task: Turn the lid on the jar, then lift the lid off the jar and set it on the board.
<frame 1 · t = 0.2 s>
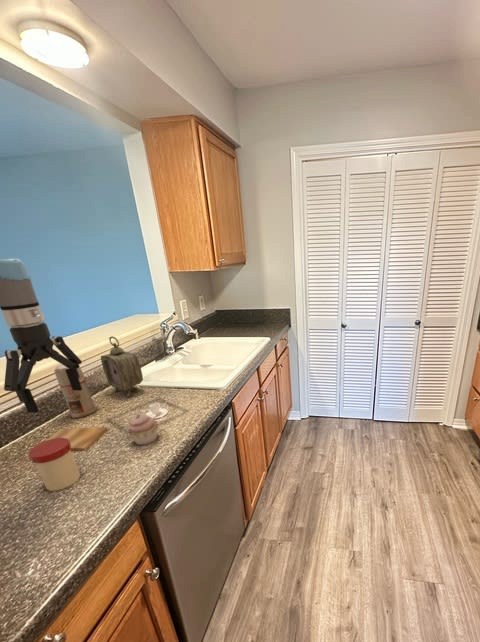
hand: (57, 400, 90), 19 cm above the countertop, tool pointing down, fingers open, 13 cm apart
board: (73, 440, 106), on the countertop
lid: (49, 448, 83), point 11 cm above the countertop, screwed on, not yet turned
tabletop clock: (129, 392, 141), on the countertop
tan tall cylinder: (83, 414, 124), on the countertop
jar: (63, 481, 87), on the countertop
teacup and saucer: (147, 417, 119), on the countertop
cupcake: (146, 440, 104), on the countertop
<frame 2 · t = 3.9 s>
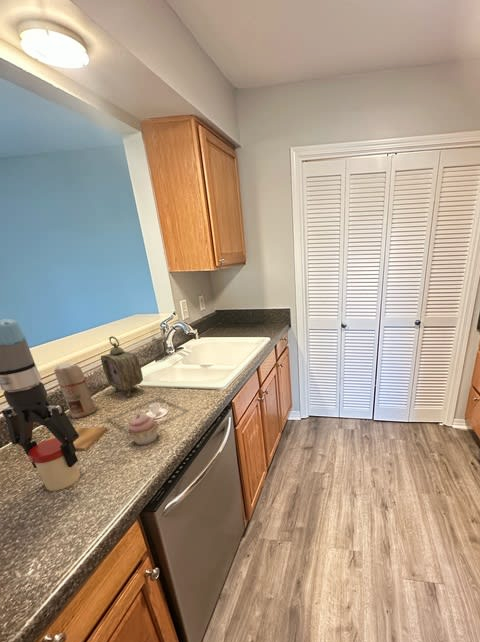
hand: (56, 464, 85), 6 cm above the countertop, tool pointing down, fingers closed on lid, 8 cm apart
lid: (49, 448, 83), point 11 cm above the countertop, screwed on, not yet turned, touching gripper
everything else where it was.
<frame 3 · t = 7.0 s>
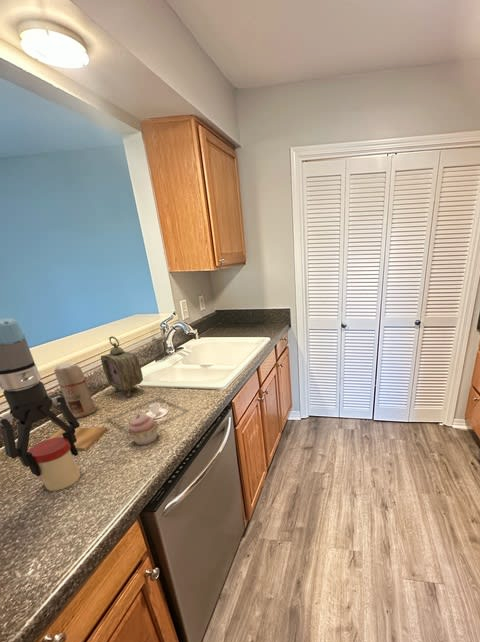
hand: (56, 463, 85), 6 cm above the countertop, tool pointing down, fingers closed on lid, 8 cm apart
lid: (49, 447, 83), point 11 cm above the countertop, turned 64° so far, risen 0.2 cm, still on its thread, touching gripper
everything else where it was.
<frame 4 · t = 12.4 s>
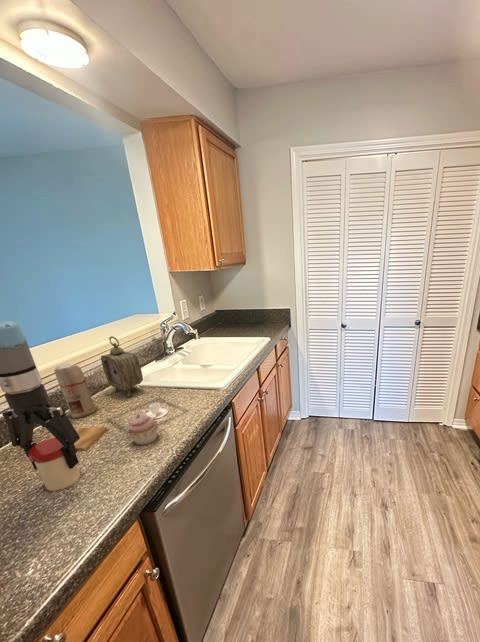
hand: (57, 465, 85), 5 cm above the countertop, tool pointing down, fingers closed on lid, 8 cm apart
lid: (49, 447, 83), point 11 cm above the countertop, turned 90° so far, risen 0.2 cm, still on its thread, touching gripper
everything else where it was.
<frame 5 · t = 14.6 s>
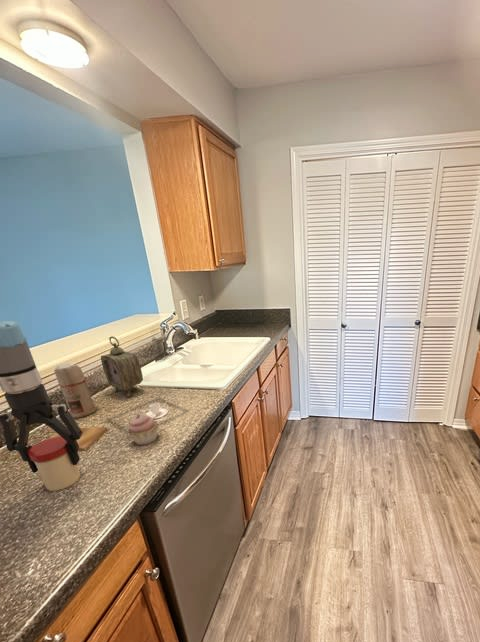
hand: (57, 465, 85), 5 cm above the countertop, tool pointing down, fingers closed on lid, 8 cm apart
lid: (49, 447, 83), point 11 cm above the countertop, turned 107° so far, risen 0.3 cm, still on its thread, touching gripper
everything else where it was.
when the fingers open (5 cm above the countertop, at t = 18.6 s): lid stays where it is, resting on jar.
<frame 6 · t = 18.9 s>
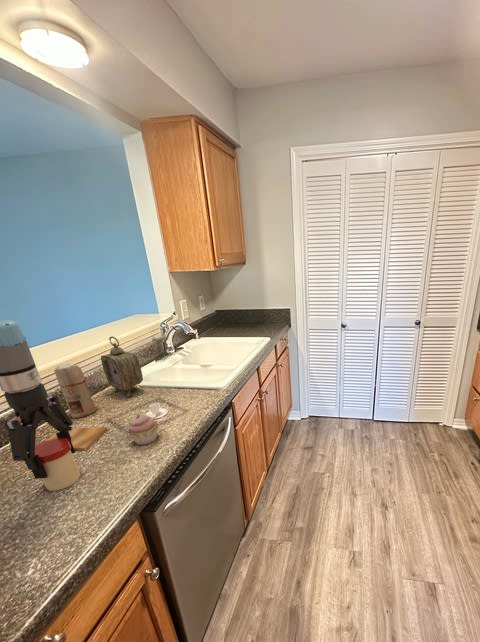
hand: (56, 464, 85), 6 cm above the countertop, tool pointing down, fingers open, 10 cm apart
lid: (49, 448, 83), point 11 cm above the countertop, off its thread, touching jar
jar: (63, 481, 87), on the countertop, touching lid
everything else where it was.
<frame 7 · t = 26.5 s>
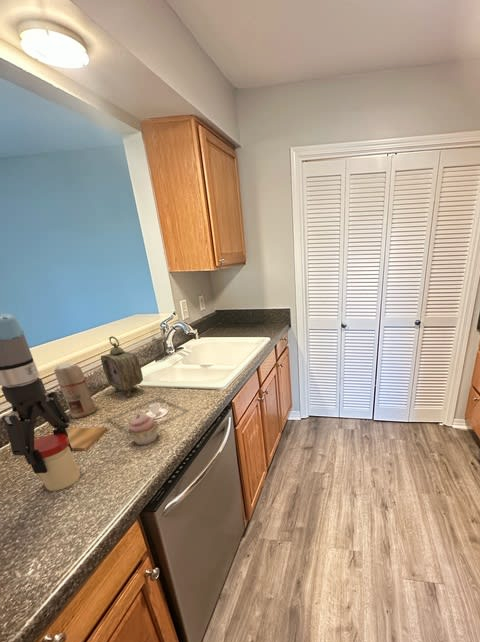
hand: (54, 460, 85), 7 cm above the countertop, tool pointing down, fingers closed on lid, 8 cm apart
lid: (47, 443, 83), point 12 cm above the countertop, off its thread, touching gripper
jar: (63, 481, 87), on the countertop
everything else where it was.
when the fingers open (2 cm above the countertop, at t = 34.4 s): lid drops 4 cm, resting on board.
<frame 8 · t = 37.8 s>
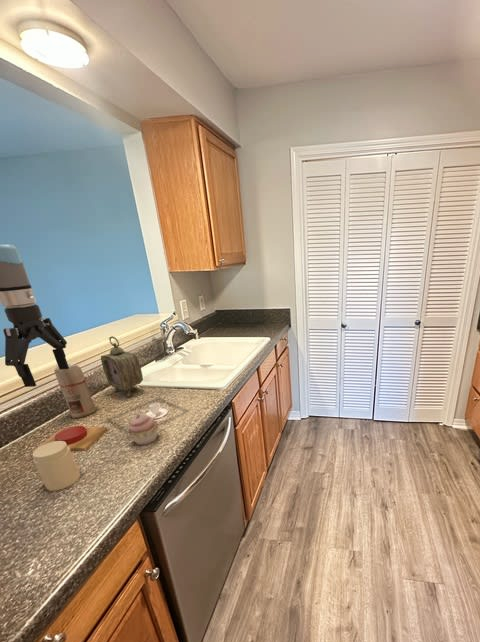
hand: (48, 377, 97), 23 cm above the countertop, tool pointing down, fingers open, 13 cm apart
lid: (70, 433, 105), point 3 cm above the countertop, off its thread, touching board
everything else where it was.
at the end: lid inside the target area on the board (0.1 cm from its centre), point 2.7 cm above the board's base; the gripper is holding nothing; jar tilted 0° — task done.
